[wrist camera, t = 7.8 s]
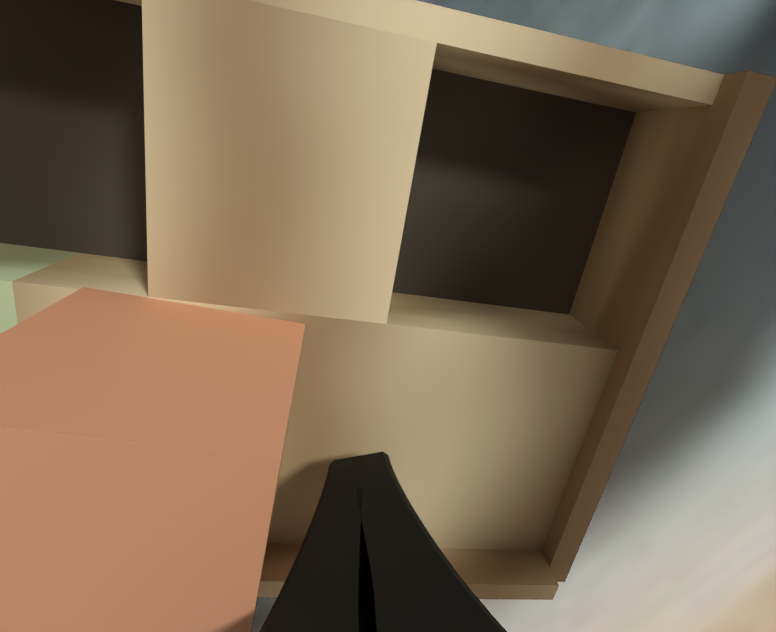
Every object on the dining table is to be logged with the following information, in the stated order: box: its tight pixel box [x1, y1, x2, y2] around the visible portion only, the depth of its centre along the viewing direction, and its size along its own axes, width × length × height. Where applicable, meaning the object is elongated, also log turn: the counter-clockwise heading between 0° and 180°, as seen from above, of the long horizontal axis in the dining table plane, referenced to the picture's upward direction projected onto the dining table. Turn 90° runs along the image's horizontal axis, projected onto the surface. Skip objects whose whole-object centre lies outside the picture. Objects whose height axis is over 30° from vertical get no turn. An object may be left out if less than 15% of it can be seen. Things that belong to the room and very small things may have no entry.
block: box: [0, 287, 305, 632], centre depth 7 cm, size 4×4×4 cm
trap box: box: [0, 0, 776, 600], centre depth 8 cm, size 18×12×5 cm
